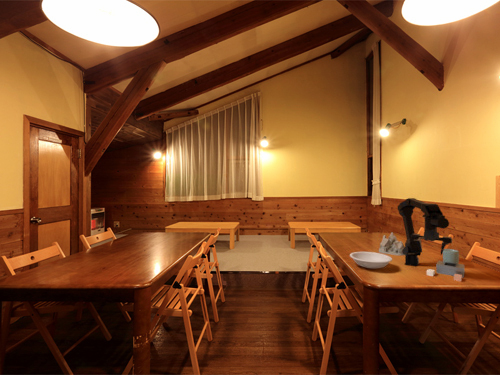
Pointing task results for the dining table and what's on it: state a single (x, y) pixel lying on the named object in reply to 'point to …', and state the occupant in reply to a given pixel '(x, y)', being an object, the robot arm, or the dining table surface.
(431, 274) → the white rectangular block
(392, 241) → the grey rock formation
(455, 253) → the cup
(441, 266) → the box
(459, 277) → the pink rectangular block
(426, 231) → the robot arm
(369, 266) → the soup bowl
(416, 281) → the dining table surface
